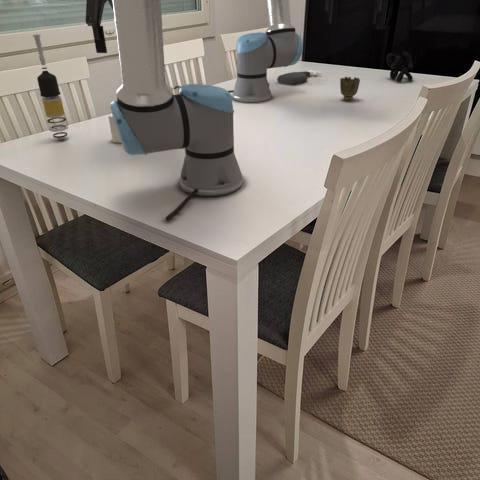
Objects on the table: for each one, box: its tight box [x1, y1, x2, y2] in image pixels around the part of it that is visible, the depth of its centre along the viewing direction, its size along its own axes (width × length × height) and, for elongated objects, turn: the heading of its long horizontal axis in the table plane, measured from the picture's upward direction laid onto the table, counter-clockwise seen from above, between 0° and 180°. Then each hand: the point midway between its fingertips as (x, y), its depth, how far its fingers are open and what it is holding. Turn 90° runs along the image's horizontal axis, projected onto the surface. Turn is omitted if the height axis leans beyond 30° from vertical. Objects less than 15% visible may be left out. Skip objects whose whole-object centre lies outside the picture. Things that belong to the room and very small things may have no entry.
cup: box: [339, 76, 361, 102], centre depth 171 cm, size 8×7×8 cm
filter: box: [32, 33, 69, 140], centre depth 132 cm, size 6×6×30 cm
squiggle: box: [385, 51, 414, 83], centre depth 198 cm, size 11×10×15 cm
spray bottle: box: [276, 69, 322, 86], centre depth 204 cm, size 3×11×25 cm
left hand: (113, 48), depth 124 cm, fingers open, 13 cm apart
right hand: (351, 23), depth 139 cm, fingers open, 13 cm apart
